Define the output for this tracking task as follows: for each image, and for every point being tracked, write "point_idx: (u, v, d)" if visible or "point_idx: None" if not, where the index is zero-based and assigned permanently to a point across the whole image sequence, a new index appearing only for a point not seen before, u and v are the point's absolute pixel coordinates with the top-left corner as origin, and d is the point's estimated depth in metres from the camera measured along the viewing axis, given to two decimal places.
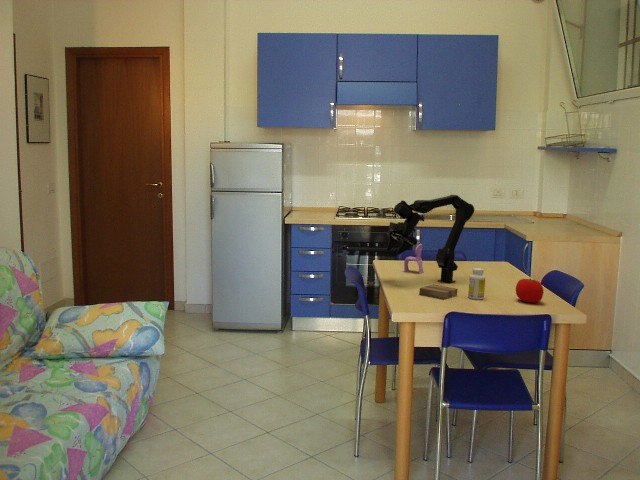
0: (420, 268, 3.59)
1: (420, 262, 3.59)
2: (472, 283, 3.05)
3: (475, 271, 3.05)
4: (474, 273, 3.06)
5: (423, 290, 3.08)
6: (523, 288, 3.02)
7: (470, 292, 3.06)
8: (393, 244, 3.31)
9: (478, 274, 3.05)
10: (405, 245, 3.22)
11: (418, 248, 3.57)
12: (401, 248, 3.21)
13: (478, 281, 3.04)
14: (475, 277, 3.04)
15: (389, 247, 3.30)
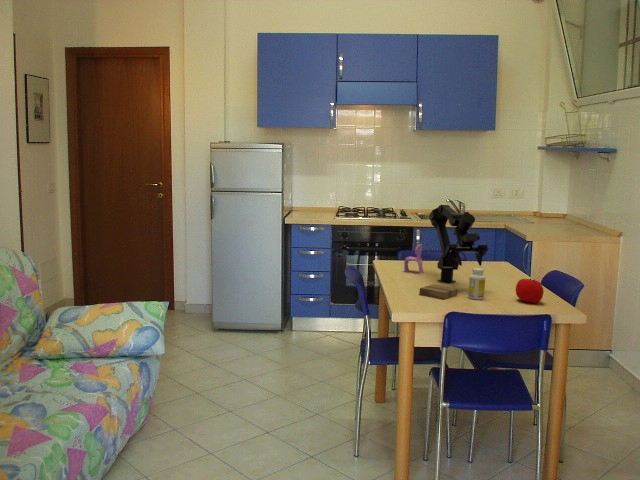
0: (420, 268, 3.59)
1: (420, 262, 3.59)
2: (472, 283, 3.05)
3: (475, 271, 3.05)
4: (474, 273, 3.06)
5: (423, 290, 3.08)
6: (523, 288, 3.02)
7: (470, 292, 3.06)
8: None
9: (478, 274, 3.05)
10: None
11: (418, 248, 3.57)
12: None
13: (478, 281, 3.04)
14: (475, 277, 3.04)
15: None
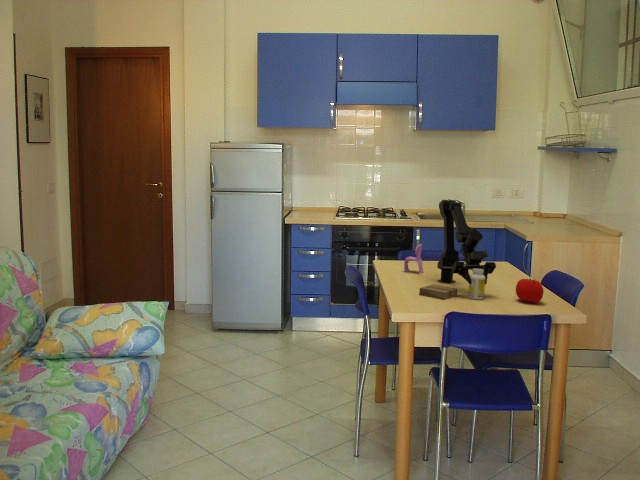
0: (420, 268, 3.59)
1: (420, 262, 3.59)
2: (472, 283, 3.05)
3: (475, 271, 3.05)
4: (474, 273, 3.06)
5: (423, 290, 3.08)
6: (523, 288, 3.02)
7: (470, 292, 3.06)
8: None
9: (478, 274, 3.05)
10: None
11: (418, 248, 3.57)
12: None
13: (478, 281, 3.04)
14: (475, 277, 3.04)
15: None
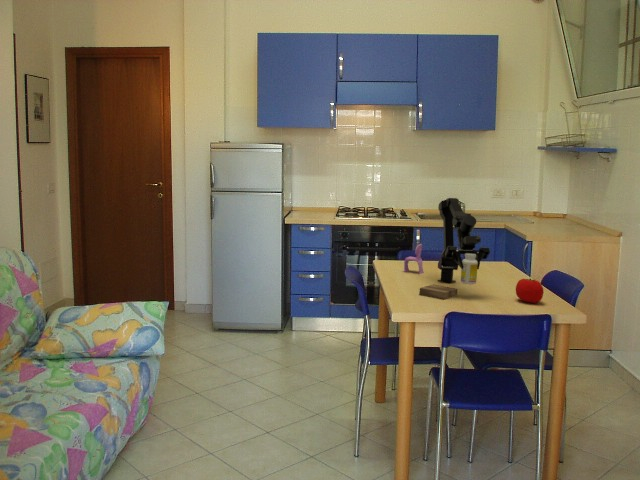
0: (420, 268, 3.59)
1: (420, 262, 3.59)
2: (464, 267, 3.04)
3: (467, 256, 3.04)
4: (466, 258, 3.05)
5: (423, 290, 3.08)
6: (523, 288, 3.02)
7: (462, 277, 3.06)
8: None
9: (470, 259, 3.04)
10: None
11: (418, 248, 3.57)
12: (479, 262, 3.07)
13: (470, 266, 3.03)
14: (467, 262, 3.04)
15: None
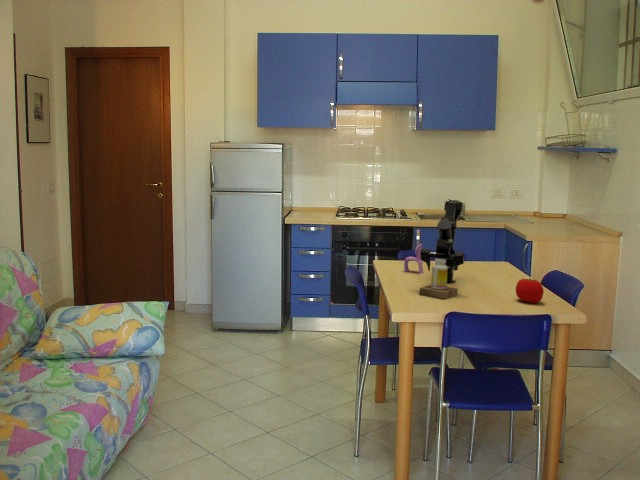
0: (420, 268, 3.59)
1: (420, 262, 3.59)
2: (432, 272, 3.08)
3: (436, 261, 3.08)
4: (435, 263, 3.08)
5: (423, 290, 3.08)
6: (523, 288, 3.02)
7: (431, 281, 3.10)
8: None
9: (438, 264, 3.07)
10: (454, 263, 3.10)
11: (418, 248, 3.57)
12: (453, 266, 3.08)
13: (437, 271, 3.06)
14: (434, 267, 3.07)
15: (429, 267, 3.10)
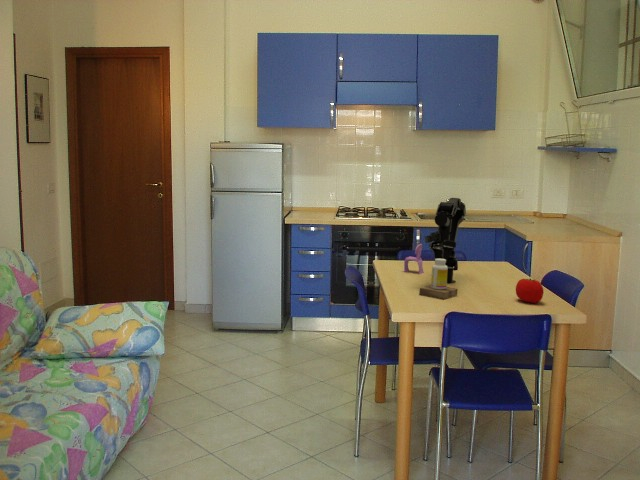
0: (420, 268, 3.59)
1: (420, 262, 3.59)
2: (432, 272, 3.08)
3: (436, 261, 3.08)
4: (435, 263, 3.08)
5: (423, 290, 3.08)
6: (523, 288, 3.02)
7: (431, 281, 3.10)
8: (439, 254, 3.28)
9: (438, 264, 3.07)
10: (447, 251, 3.17)
11: (418, 248, 3.57)
12: (444, 255, 3.17)
13: (437, 271, 3.06)
14: (434, 267, 3.07)
15: None
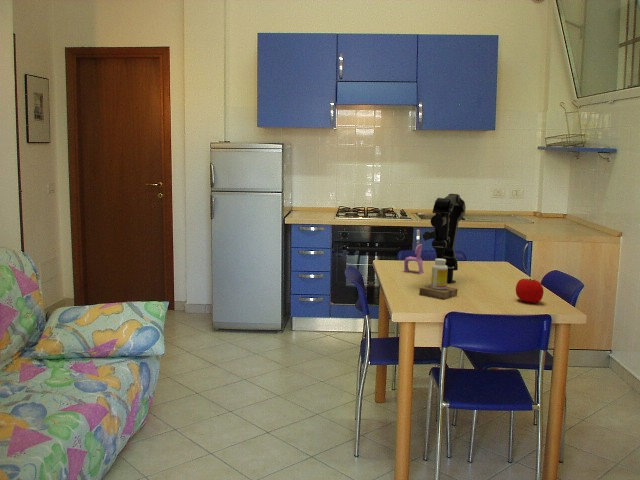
0: (420, 268, 3.59)
1: (420, 262, 3.59)
2: (432, 272, 3.08)
3: (436, 261, 3.08)
4: (435, 263, 3.08)
5: (423, 290, 3.08)
6: (523, 288, 3.02)
7: (431, 281, 3.10)
8: None
9: (438, 264, 3.07)
10: (439, 250, 3.18)
11: (418, 248, 3.57)
12: (437, 254, 3.19)
13: (437, 271, 3.06)
14: (434, 267, 3.07)
15: None
